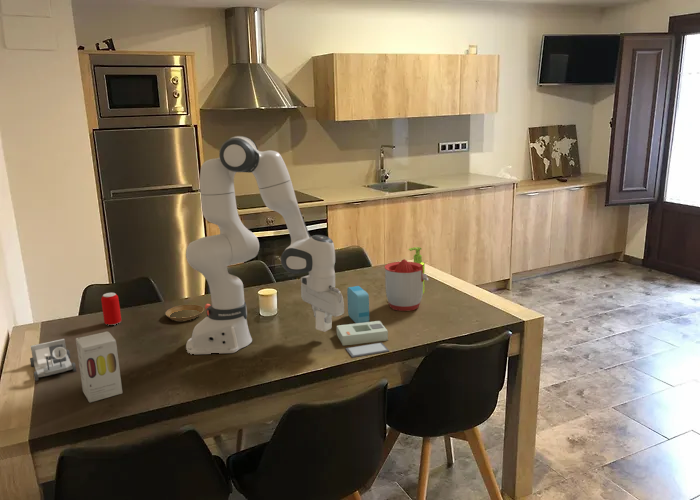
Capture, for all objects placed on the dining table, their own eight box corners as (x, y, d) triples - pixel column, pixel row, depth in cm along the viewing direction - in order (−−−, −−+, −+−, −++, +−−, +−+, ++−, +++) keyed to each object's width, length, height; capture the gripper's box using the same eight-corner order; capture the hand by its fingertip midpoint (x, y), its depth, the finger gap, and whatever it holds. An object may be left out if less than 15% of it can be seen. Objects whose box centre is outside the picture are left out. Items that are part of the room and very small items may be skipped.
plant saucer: (209, 310, 233) (209, 304, 232) (196, 324, 219) (196, 317, 218) (175, 310, 235) (174, 304, 234) (159, 323, 220) (159, 317, 220)
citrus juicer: (427, 314, 221) (428, 265, 217) (383, 313, 224) (382, 264, 219) (428, 301, 236) (429, 254, 231) (386, 299, 239) (386, 253, 234)
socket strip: (343, 345, 195) (342, 335, 194) (336, 334, 204) (336, 325, 203) (387, 340, 198) (387, 330, 197) (379, 329, 208) (379, 320, 207)
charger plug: (315, 329, 199) (315, 310, 197) (322, 325, 202) (322, 306, 200) (324, 331, 197) (324, 312, 195) (331, 327, 200) (331, 308, 198)
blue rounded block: (369, 324, 213) (369, 293, 210) (358, 326, 212) (357, 295, 209) (358, 313, 224) (358, 284, 221) (347, 315, 223) (346, 286, 220)
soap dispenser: (406, 291, 249) (406, 247, 244) (420, 289, 251) (421, 245, 246) (411, 295, 244) (411, 250, 239) (426, 293, 246) (426, 248, 241)
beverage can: (107, 328, 217) (103, 298, 214) (102, 323, 221) (98, 294, 218) (124, 323, 220) (120, 294, 217) (118, 319, 225) (114, 290, 222)
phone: (352, 359, 186) (352, 356, 185) (345, 350, 192) (345, 347, 192) (389, 353, 190) (389, 350, 189) (381, 345, 196) (381, 342, 196)
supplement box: (89, 403, 161) (80, 348, 157) (81, 391, 168) (73, 338, 164) (124, 393, 166) (116, 339, 162) (115, 381, 174) (108, 330, 170)
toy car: (73, 347, 177) (31, 356, 171) (78, 376, 179) (36, 386, 173) (65, 329, 191) (26, 337, 185) (69, 356, 194) (30, 365, 188)
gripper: (348, 288, 188) (348, 327, 192) (312, 273, 204) (312, 309, 207) (333, 292, 185) (333, 332, 188) (297, 276, 200) (298, 313, 204)
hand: (322, 319), depth 198 cm, fingers closed on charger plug, 5 cm apart
